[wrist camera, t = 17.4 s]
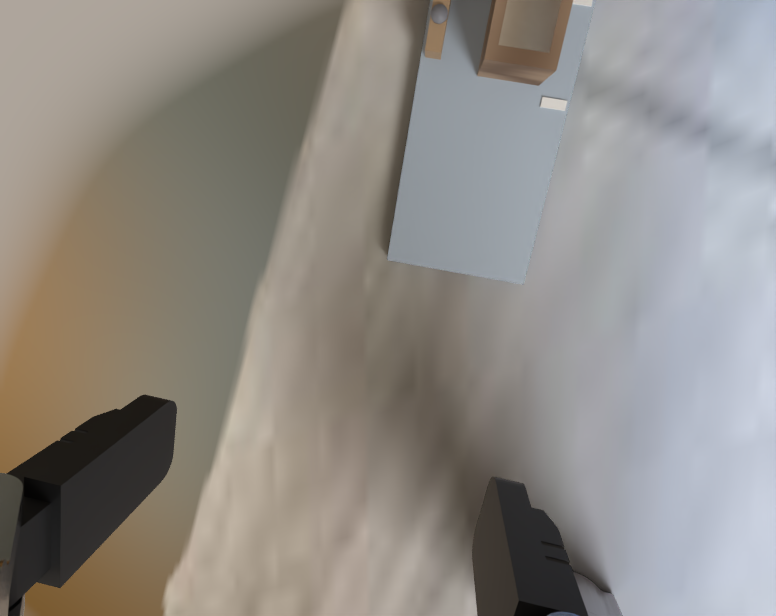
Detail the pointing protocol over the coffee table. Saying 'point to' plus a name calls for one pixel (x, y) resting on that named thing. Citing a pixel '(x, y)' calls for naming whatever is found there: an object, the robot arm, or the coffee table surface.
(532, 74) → the walnut frame
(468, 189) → the wall panel
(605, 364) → the coffee table surface
